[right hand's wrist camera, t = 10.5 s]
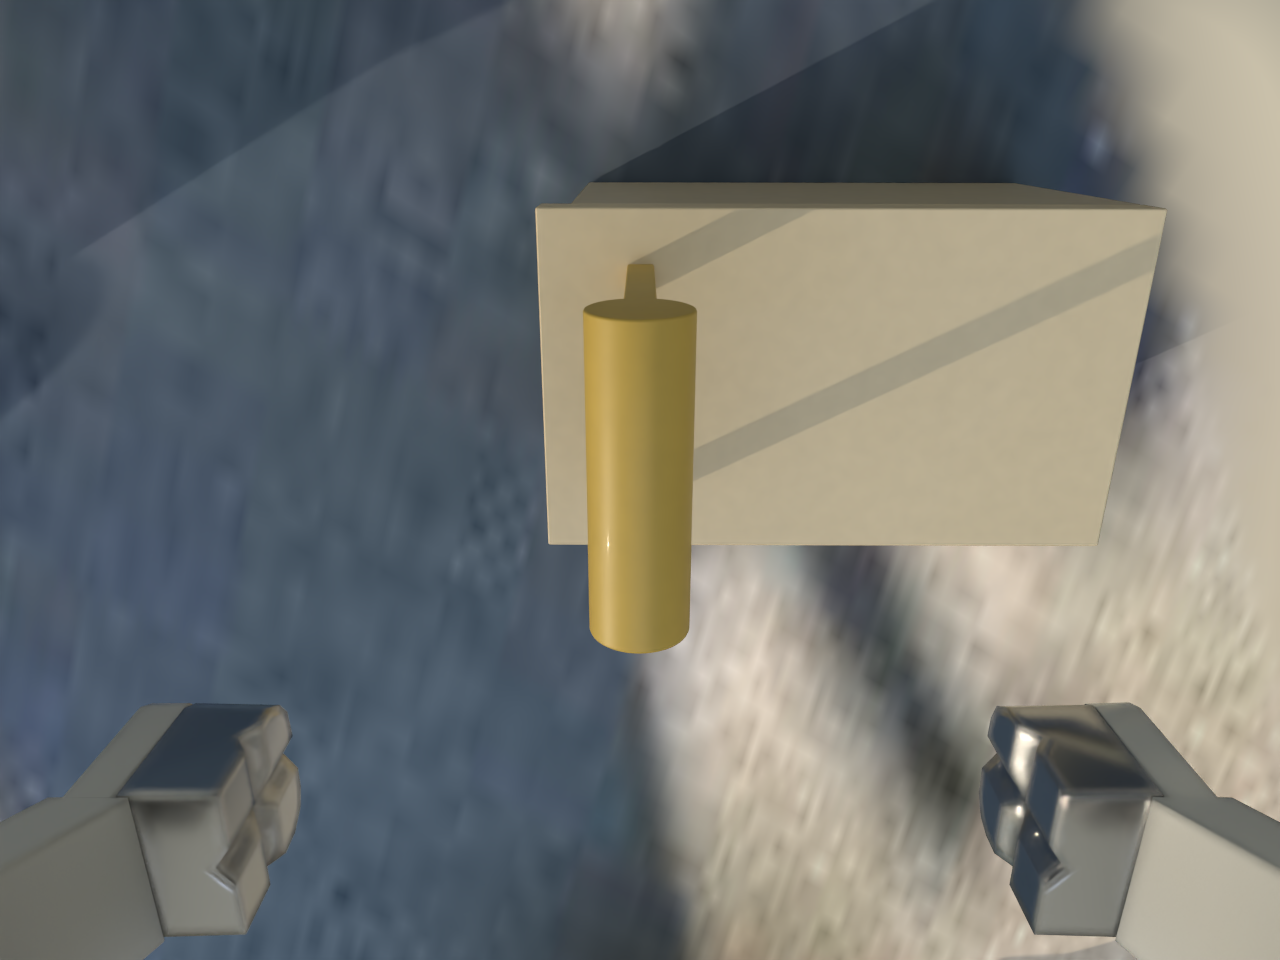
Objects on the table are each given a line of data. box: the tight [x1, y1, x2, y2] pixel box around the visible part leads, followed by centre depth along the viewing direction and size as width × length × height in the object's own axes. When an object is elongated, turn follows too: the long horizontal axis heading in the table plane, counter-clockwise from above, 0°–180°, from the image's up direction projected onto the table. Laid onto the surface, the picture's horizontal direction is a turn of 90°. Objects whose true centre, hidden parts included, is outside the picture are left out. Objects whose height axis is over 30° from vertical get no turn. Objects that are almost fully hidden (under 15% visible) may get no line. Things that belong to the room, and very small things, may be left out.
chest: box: [571, 182, 1140, 205], centre depth 30 cm, size 15×10×9 cm, turn 90°
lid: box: [535, 204, 1167, 653], centre depth 22 cm, size 16×10×9 cm, turn 90°
